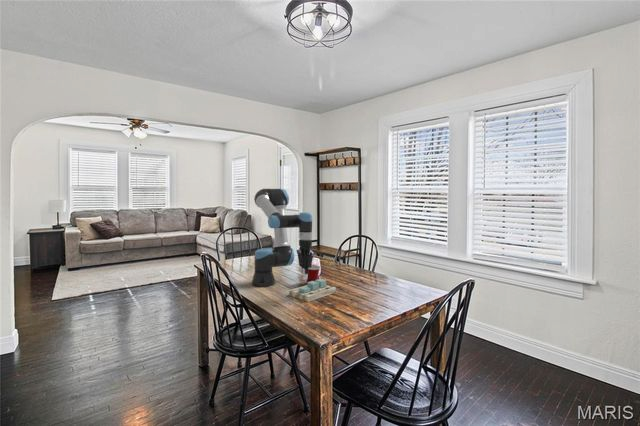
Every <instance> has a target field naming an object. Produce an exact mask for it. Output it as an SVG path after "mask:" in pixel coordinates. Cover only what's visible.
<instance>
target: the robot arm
mask: <svg viewBox="0 0 640 426" xmlns="http://www.w3.org/2000/svg"><path fill="white" fill-rule="evenodd" d="M287 191H288V190H286V189H284V188H262V189H260V190H258V191H257V192H256V193H255V195H254V203H255V205H256V207H258V208H260V209H261V211H262V212H263V213H264V215H265V216H266V217H267V225H268V227H269V228H270V229H273V231H274V233H273V234H274V243H275V245H273V248H272V247H262V248H259V249H256V250H255V252H254V272H253V277H252V280H251V285H252V286H254V287H257V288H258V287H261V288H263V287H264V288H265V287H271V286H273V285H275V284H276V280H275V276H274V272H273V268H278V267H279V268H281V267H288V266H291V265H292V264H294V261H295V251H294V249H293V248H292V247H291V244H289V242H288V229H291V228H292V229H293V228H298V239H299V240H298V246H299V248H298V249H296V253H297V259H298V264H299V266H298V267H301V273H302V280H304V281H305V280H306V281H307V279H308V268H311V265H313V259H314V256H315V252H314V251H313V250H312V246H313V214H312V212H299V214H288V215H287V214H286V210H285V209H287V206H288V205H289V203H290V196H289V194H288V192H287Z"/></svg>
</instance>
